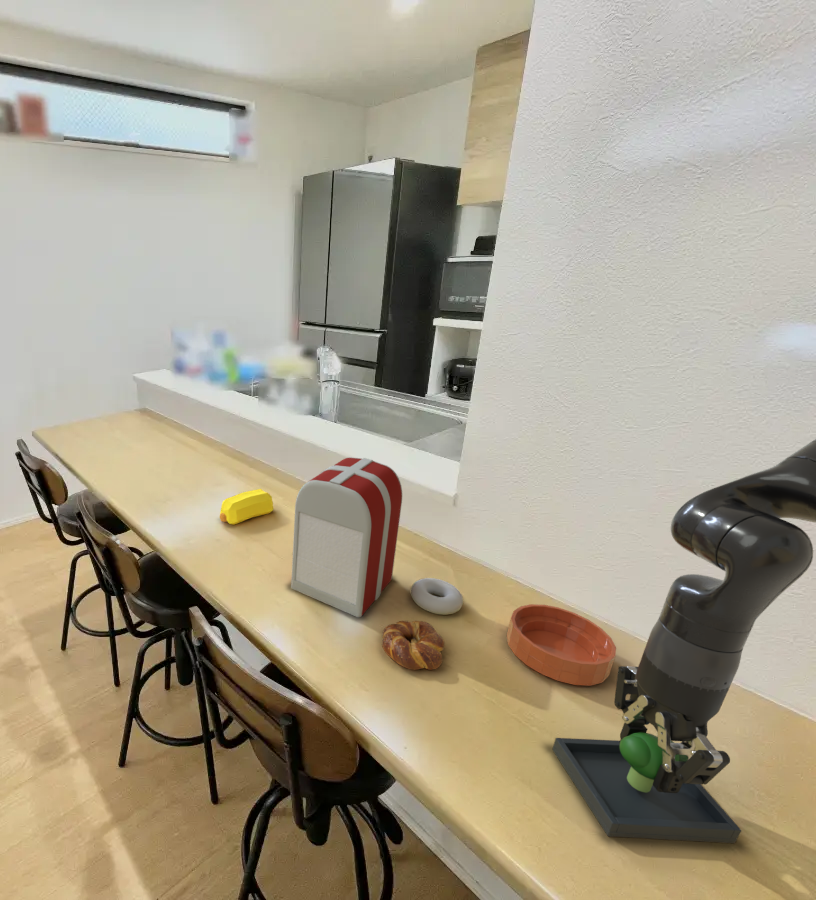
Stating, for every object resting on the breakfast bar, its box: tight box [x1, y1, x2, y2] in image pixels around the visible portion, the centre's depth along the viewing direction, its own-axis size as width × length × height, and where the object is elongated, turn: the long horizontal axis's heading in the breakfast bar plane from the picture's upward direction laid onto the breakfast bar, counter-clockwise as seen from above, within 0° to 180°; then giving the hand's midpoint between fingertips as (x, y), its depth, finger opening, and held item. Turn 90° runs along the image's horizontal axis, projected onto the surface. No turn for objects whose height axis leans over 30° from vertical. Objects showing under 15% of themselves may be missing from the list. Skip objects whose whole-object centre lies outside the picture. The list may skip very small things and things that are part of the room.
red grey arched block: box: [290, 456, 403, 618], centre depth 104 cm, size 16×18×27 cm
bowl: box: [506, 603, 617, 687], centre depth 87 cm, size 15×15×5 cm
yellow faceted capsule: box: [219, 488, 274, 526], centre depth 138 cm, size 18×7×8 cm
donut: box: [410, 577, 464, 616], centre depth 101 cm, size 10×4×10 cm
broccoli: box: [619, 732, 679, 792], centre depth 63 cm, size 7×5×8 cm
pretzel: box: [381, 620, 445, 671], centre depth 89 cm, size 12×11×4 cm
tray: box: [552, 737, 742, 844], centre depth 64 cm, size 15×12×2 cm
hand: (645, 766), depth 63 cm, fingers closed on broccoli, 5 cm apart
